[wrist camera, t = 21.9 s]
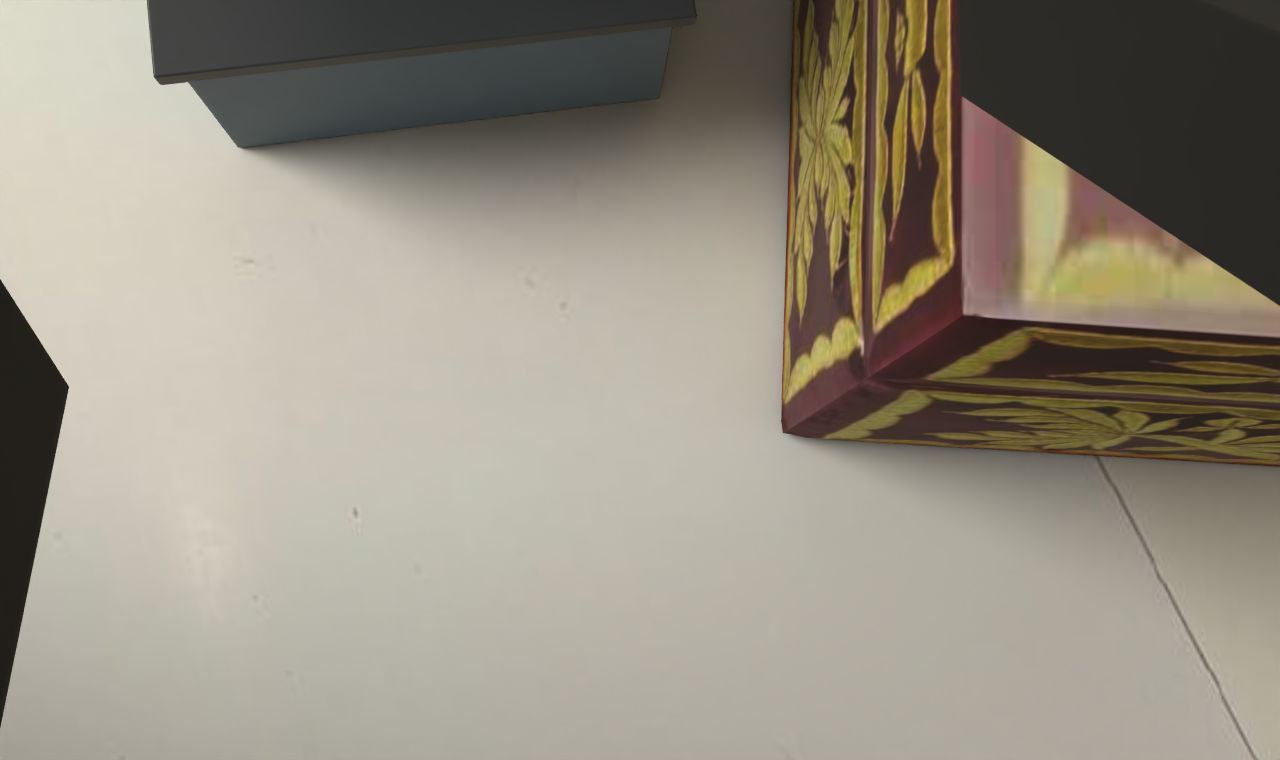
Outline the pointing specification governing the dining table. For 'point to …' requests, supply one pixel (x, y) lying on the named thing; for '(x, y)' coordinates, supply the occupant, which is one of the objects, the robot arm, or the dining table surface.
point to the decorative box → (991, 274)
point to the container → (406, 60)
